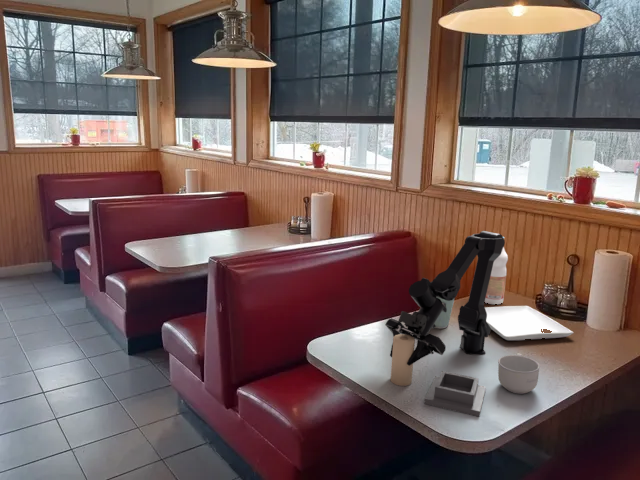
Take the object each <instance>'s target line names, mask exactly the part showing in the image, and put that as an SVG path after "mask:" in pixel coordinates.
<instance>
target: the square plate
mask: <svg viewBox="0 0 640 480" xmlns="http://www.w3.org/2000/svg"><path fill="white" fill-rule="evenodd" d="M485 310H486V313H487V319H486V322H487V323H488V325H489V326H490V328H491V330H492V331H493V332H494V333H496V334H497V335H499V337H501V339H504V340H505V341H526V340H525V339H531V340H541V339H542V338H545V339H556V338H565V337H569V336H571V335H573V334H574V331H572V330H570V329H569V328H568V327H565V326H564V325H562V323H561V324H560V322H557V321H556V320H555V319H552V318H550V317H549V316H547V315H545V314H543V313H542V312H540V311H538V310H537V309H535V308H532V307H531V306H529V305H506V306H505V305H504V306H503V305H502V306H489V307H488V306H487V307H486V306H485ZM541 329H542V331H543V329H547V330H550V331H552V332H551V333H544V332H543V333H542V332H541ZM542 340H543V339H542Z"/></svg>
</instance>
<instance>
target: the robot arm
mask: <svg viewBox="0 0 640 480" xmlns="http://www.w3.org/2000/svg"><path fill="white" fill-rule="evenodd" d="M503 237H504V235H503V234H501V233H496V232H492V231H486V230H482V231H480V232H479V233H473V234H472V235H468V236H467V237H466V238H465V240H464V243H463V245H462V247H461V248H460V250H459V251H458V253H457V254H456V255H455V257H454V258H453V260H451V263H450V264H449V266H448V267H447V268H446V269H445V270H444V271H441V272H440V273H439V274H437V275H436V276H435V277H434V278H433V280H432V281H430V280H429V279H428V278H425V277H422V278H421V280H418V281H417V280H416V281H415V282H413V283H412V284H411V285H410V286H409V289H408V294H409V296H410V297H411V298H412V299H413V301H414V302H415V303H416V304H417V306H418V307H420V308H419V310H418V311H416V310H415V311H414V312H412V314H411V313H409V312H406V311H403V310H402V311H401V312H400V315H399V318H398V320H397V319H394V318H389V319H387V321H386V322H385V324H384V325H385V326H386V327H387V329H388V330H389V332H391V334H392V338H393V337H394V336H395V335H398V334H405V335H410V336H412V337H414V338H415V341H416V340H417V342H416V347H414V352H413V353H412V355H411V357H410V358H409V360H408V362H407V365H409V366H410V365H411V364H413V365H414V364H415V363H416V362H418V361H419V360H421V359H423V358H425V357H426V356H428V355H430V354H431V355H433V354H434V353H436V354H438V355H441V356H443V355H444V353H445V351H446V349H447V348H446V345H445V343H444V341H442V339H441V338H440V337H439V336H436V335H434V334H431V333H430V331H431V330H432V329H434V330H435V329H436V328H435V327H436V326H435V324H434V323H435V322H436V320H437V318H438V317H439V315H440V314H441V312H442V311H443V312H447V308H446V303H444V302H442V301H441V300H440V299H439V298H441V299H444V300H447V301H451V300H453V299H454V298H456V297H457V296H458V293H459V291H460V289H461V280H462V278H463V276H464V275H465V274H466V272H467V270H468V269H469V267H471V265H472V263H473V261H474V260H475V258H476V257H477V260H476V261H477V262H476V265H475V270H474V274H473V279H472V284H471V288H470V293H469V297H468V300H467V302H466V303H465V304H464V305H461V306H460V307H459V313H458V316H457V323H458V328H459V329H458V330H460V331H462V334H461V336H460V338H461V339H460V344H459V347H460V348H461V349H462V350H463V352H464V353H465V354H467V355H468V354H469V355H477V354H481V355H484V354H485V355H486V353H487V352H486V351H485V338H488V337H489V335H490V334H491V330H492V329H491V328H490V326H489V325H488V323H487V322H486V319H487V313H486V310H485V308H486V306H485V303H484V302H485V298H486V293H487V289H488V285H489V280H490V276H491V272H492V267H493V263H494V261H495V260H496V259H497V258H498V257H499V256H500V255H501V252H502V249H503V247H504V248H505V245H506V240H504V239H503ZM436 297H438V298H436ZM454 300H455V299H454ZM402 323H404V324H402ZM392 351H393V343H392V344H391V349H390V353H389V357H390V358H392Z"/></svg>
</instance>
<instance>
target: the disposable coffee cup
mask: <svg viewBox="0 0 640 480" xmlns="http://www.w3.org/2000/svg"><path fill="white" fill-rule="evenodd" d="M436 298H438V297H436ZM455 298H456V297H455ZM455 298H454V299H453V300H451V301H447V300H444V299H441V298H439V299H440V300H441V301H442V302H444V303H446V308H447V312H443V311H442V312H441V314H440V315H439V317H438V318H437V320H436V322H435V323H434V324H435V326H436V327H435V328H434V329H446V328H448V326H449V324H450V318H451V316H452V315H451V314H452V310H453V307H454V302H455Z"/></svg>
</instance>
